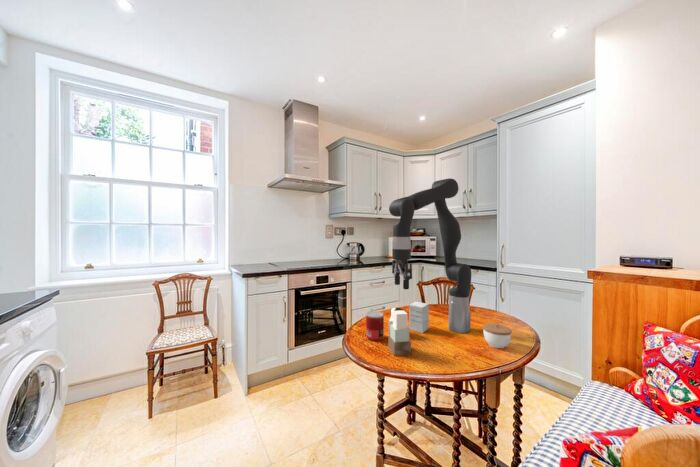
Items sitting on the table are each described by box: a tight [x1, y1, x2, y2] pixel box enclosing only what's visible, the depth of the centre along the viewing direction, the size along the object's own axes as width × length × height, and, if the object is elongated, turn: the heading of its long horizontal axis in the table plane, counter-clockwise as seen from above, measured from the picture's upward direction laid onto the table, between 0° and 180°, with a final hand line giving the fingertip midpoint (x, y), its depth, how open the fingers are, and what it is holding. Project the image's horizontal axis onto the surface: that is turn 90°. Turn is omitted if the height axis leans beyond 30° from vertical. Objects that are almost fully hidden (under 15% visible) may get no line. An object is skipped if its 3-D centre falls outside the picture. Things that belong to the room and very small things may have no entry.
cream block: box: [393, 309, 409, 329], centre depth 105 cm, size 5×5×6 cm
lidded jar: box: [482, 322, 513, 349], centre depth 110 cm, size 11×11×9 cm
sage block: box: [389, 324, 410, 342], centre depth 105 cm, size 6×6×5 cm
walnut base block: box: [387, 335, 412, 356], centre depth 105 cm, size 7×7×5 cm
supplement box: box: [408, 301, 430, 334], centre depth 128 cm, size 7×7×13 cm
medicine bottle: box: [388, 307, 404, 336], centre depth 122 cm, size 7×7×12 cm
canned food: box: [365, 311, 385, 342], centre depth 118 cm, size 8×8×11 cm
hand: (401, 286), depth 106 cm, fingers open, 8 cm apart
